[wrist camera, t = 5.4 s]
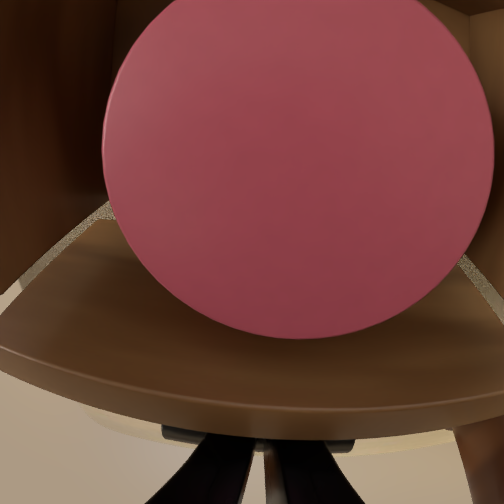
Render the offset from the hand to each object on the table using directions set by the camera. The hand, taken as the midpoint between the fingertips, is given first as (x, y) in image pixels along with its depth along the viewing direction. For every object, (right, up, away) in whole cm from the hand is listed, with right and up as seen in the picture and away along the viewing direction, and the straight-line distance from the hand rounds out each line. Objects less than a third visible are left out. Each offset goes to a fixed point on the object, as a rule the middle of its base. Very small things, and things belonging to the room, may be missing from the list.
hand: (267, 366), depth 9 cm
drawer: (+1, +6, +1) cm, 6 cm away
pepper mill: (+14, -5, +7) cm, 17 cm away
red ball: (+1, +7, -1) cm, 7 cm away
